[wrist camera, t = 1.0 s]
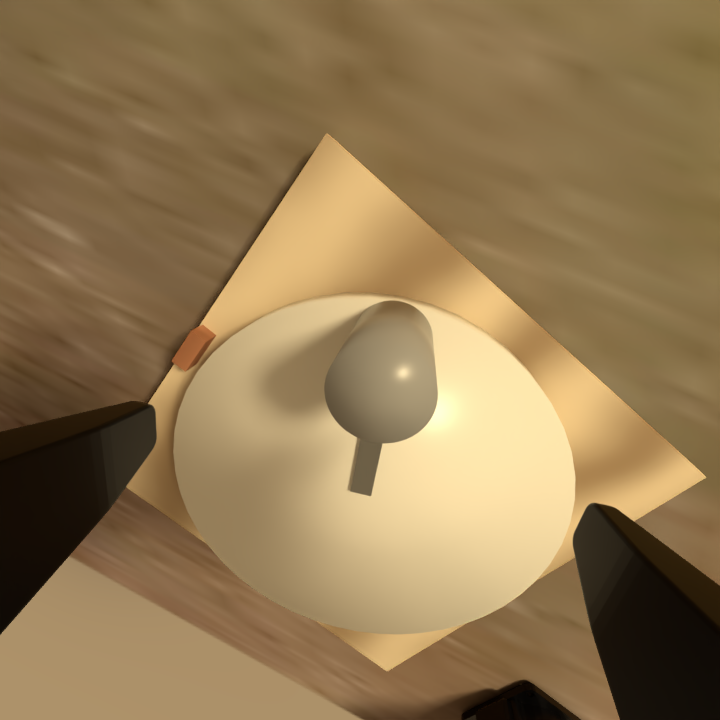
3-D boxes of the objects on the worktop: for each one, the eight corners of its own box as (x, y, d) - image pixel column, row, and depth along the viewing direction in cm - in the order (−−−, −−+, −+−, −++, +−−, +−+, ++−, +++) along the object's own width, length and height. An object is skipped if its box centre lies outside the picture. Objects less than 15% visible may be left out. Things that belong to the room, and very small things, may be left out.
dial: (495, 642, 23) (522, 797, 17) (190, 563, 24) (114, 679, 18) (634, 338, 16) (768, 418, 10) (188, 252, 17) (62, 274, 11)
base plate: (685, 457, 19) (722, 492, 16) (388, 647, 27) (385, 688, 24) (334, 139, 16) (320, 127, 14) (121, 456, 24) (90, 482, 22)
